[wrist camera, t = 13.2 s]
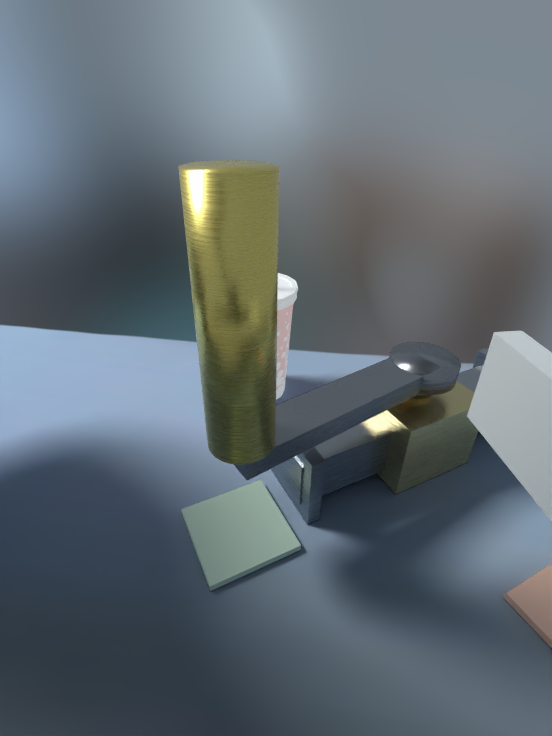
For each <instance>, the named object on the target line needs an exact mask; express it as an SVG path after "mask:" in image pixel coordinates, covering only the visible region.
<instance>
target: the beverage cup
mask: <svg viewBox="0 0 552 736" xmlns="http://www.w3.org/2000/svg"><path fill="white" fill-rule="evenodd" d="M297 291H298V286H297V283H296V281H295V280H293V279H292V278H290V277H288V276H287V275H283V274H280V273H278V295H277V373H276V400H277V399H278V398H279V397H281V396H282V394H283V392H284V389H285V380H286V370H287V360H288V350H289V340H290V330H291V319H292V309H293V303H294V301H295V300H296V298H297V294H296V293H297Z"/></svg>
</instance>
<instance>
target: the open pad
mask: <svg viewBox="0 0 552 736" xmlns="http://www.w3.org/2000/svg"><path fill="white" fill-rule="evenodd" d="M181 512H182V515H183V518H184V521H185V524H186V526H187V529H188V532H189V534H190V537H191V540H192V543H193V545H194V548H195V551H196V553H197V556H198V559H199V561H200V564H201V567H202V570H203V572H204V575H205V578H206V580H207V583H208V586H209V589H210V591H212V590H214V589H216V588H219V587H221V586H223V585H225V584H227V583H229V582H232V581H234V580H236V579H238V578H240V577H243V576H245V575H247V574H249V573H251V572H253V571H256V570H258V569H260V568H262V567H264V566H267V565H269V564H271V563H273V562H275V561H277V560H280V559H282V558H284V557H286V556H288V555H291V554H293V553H295V552H297V551H299V550H301V544H300V543H299V541H298V539H297V538H296V536H295V534H294V533H293V531H292V530H291V528H290V526H289V525H288V523H287V521H286V520H285V518H284V516H283V515H282V513H281V512H280V510H279V508H278V507H277V505H276V503H275V502H274V500H273V498H272V497H271V495H270V494H269V492H268V490H267V489H266V487H265V485H264V484H263V482H262V480H258V481H256V482H253V483H250V484H248V485H245V486H242V487H240V488H237V489H234V490H231V491H229V492H226V493H223V494H221V495H218V496H215V497H212V498H210V499H207V500H204V501H202V502H199V503H196V504H193V505H191V506H188V507H185V508H183V509H181Z"/></svg>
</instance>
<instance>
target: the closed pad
mask: <svg viewBox="0 0 552 736" xmlns="http://www.w3.org/2000/svg"><path fill="white" fill-rule="evenodd" d="M503 598H504V599H505V600H506V601H507V602H508V603H509V604H510V605H511V606H512V607H513V608H514V609H515V610H516V611H517V612H518V613H519V615H520V616H521V617H522V618H523V619H524V620H525V621H526V622H527V623H528V624H529V625H530V626H531V627H532V628H533V629H534V630H535V631H536V632H537V633H538V635H539V636H540V637H541V638H542V639H543V640H544V641H545V642H546V643H547V644H548V645H549V646H550V647H551V648H552V564H550V565H549V566H547V567H546V568H544V569H543V570H541V571H539V572H538V573H536V574H535V575H533V576H532V577H530V578H529V579H527V580H525V581H524V582H522V583H521V584H519V585H518V586H516V587H515V588H513V589H511V590H510V591H508V592H507V593H506V594H505V596H504V597H503Z"/></svg>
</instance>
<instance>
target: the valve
mask: <svg viewBox="0 0 552 736" xmlns="http://www.w3.org/2000/svg"><path fill="white" fill-rule="evenodd" d="M487 353H488V349H486V348H485V349H482V350H478V353H477V356H476V359H475V362H474V365H473V369H470V370H467V371H463V372H460V373H459V374H458V378H457V381H456V384H455V387H454V388H453V389H452V390H451V391H449V392H447V393H444V394H439V395H424V394H418V395H416V396H414V397H412V398H410V399H408V400H406V401H404V402H402V403H400V404H398V405H396V406H394V407H392V408H390V409H388V410H386V411H384V412H382V413H380V414H378V415H376V416H374V417H372V418H370V419H368V420H366V421H364V422H362V423H361V424H359V425H357V426H355V427H353V428H351V429H349V430H347V431H345V432H343V433H341V434H339V435H337V436H335V437H333V438H331V439H329V440H327V441H325V442H323V443H321V444H319V445H317V446H315V447H313V448H311V449H309V450H307V451H305V452H303V453H301V454H299V455H297V456H295V457H293V458H291V459H289V460H287V461H285V462H283V463H281V464H279V465H277V466H275V467H273V468H271V470H272V471H273V473H274V474H275V476H276V477H277V479H278V481H279V482H280V484H281V485H282V487H283V488H284V490H285V491H286V493H287V494H288V496H289V497H290V499H291V500H292V502H293V503H294V505H295V507H296V508H297V510H298V511H299V513H300V514H301V516H302V517H303V519H304V520H305V522H306V523H307V524H310V523H312V522H314V521H317V520H319V519H320V510H321V500H322V496H323V495H326V494H328V493H330V492H333V491H335V490H338V489H340V488H343V487H345V486H347V485H350V484H352V483H355V482H357V481H360V480H362V479H364V478H367V477H369V476H372V475H374V474H378V476H379V477H380V478H381V479H382V480H383V481H384V482H385V483H386V484H387V485H388V486H389V487H390V488H391V490H392V491H393V492H394V493H395V494H397V493H400V492H402V491H404V490H406V489H409V488H411V487H413V486H415V485H418V484H420V483H422V482H424V481H427V480H429V479H431V478H433V477H436V476H438V475H440V474H442V473H445V472H447V471H449V470H451V469H454V468H456V467H458V466H460V465H463V464H465V463H467V462H468V459H469V456H470V453H471V450H472V448H473V445H474V442H475V439H476V436H477V434H478V432H479V431H478V429H477V428H476V427H475V426H474V424H473V423H472V422H471V421H470V419H469V418H468V417H467V414H468V411H469V408H470V405H471V402H472V399H473V396H474V393H475V390H476V387H477V384H478V381H479V378H480V374H481V371H482V368H483V365H484V362H485V359H486V356H487Z"/></svg>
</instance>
